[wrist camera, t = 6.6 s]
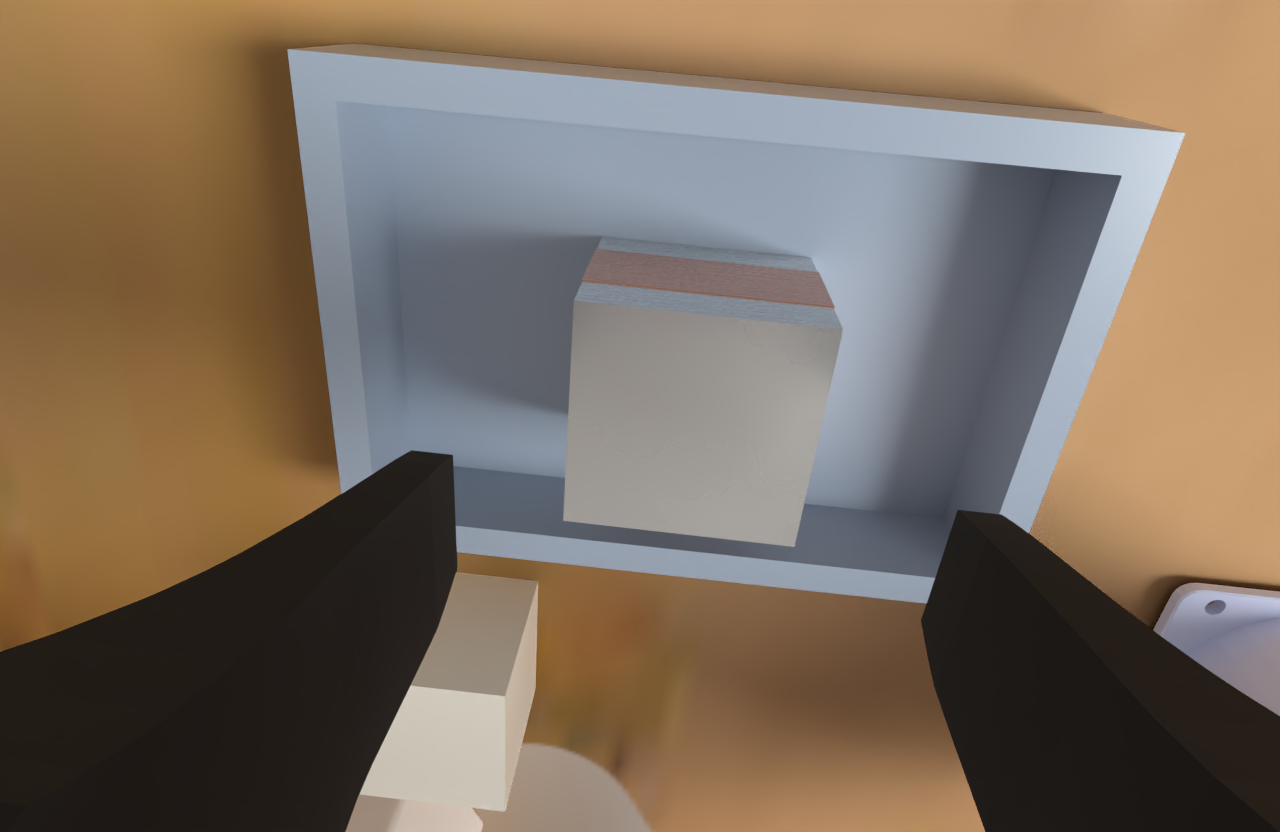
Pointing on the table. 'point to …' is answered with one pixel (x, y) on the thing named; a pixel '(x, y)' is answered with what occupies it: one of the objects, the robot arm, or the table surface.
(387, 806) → the jar
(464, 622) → the white cube
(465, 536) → the tote
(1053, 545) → the table surface
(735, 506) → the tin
